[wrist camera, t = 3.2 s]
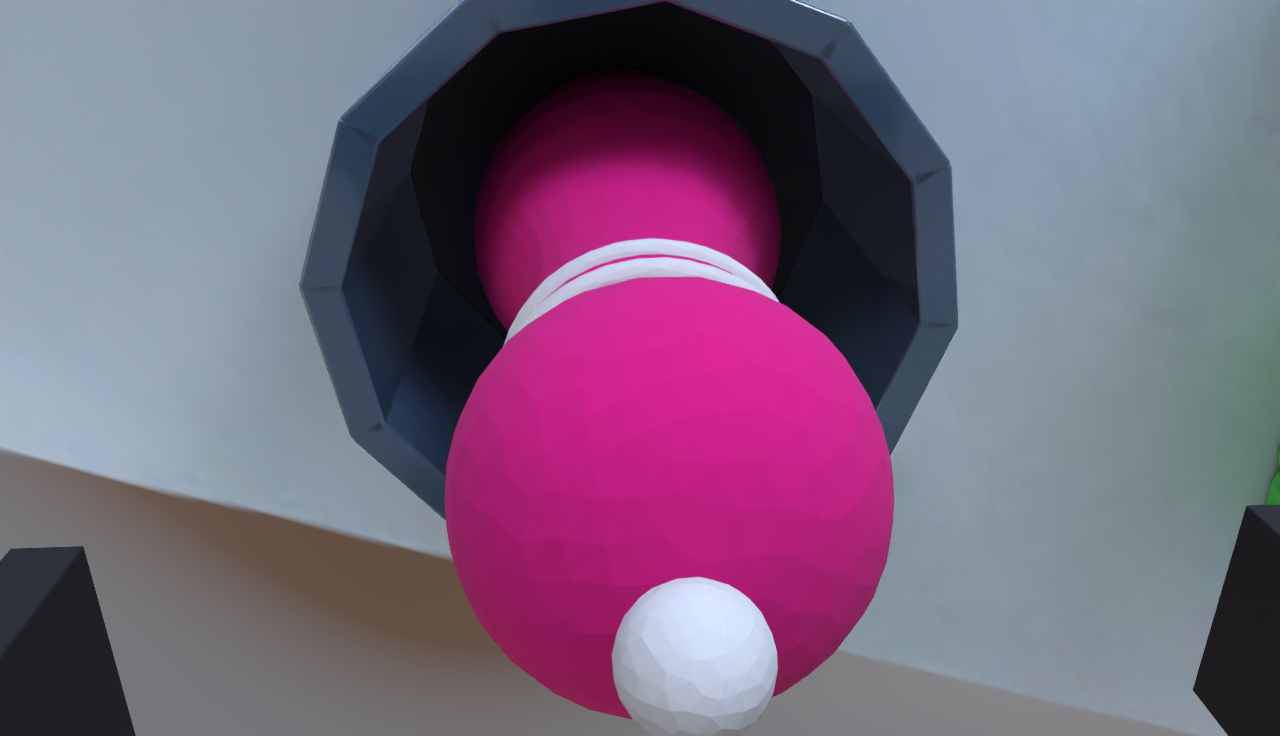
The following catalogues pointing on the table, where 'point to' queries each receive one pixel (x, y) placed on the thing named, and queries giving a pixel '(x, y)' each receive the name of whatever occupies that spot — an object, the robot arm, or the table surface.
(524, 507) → the pepper mill
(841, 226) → the crock
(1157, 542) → the table surface
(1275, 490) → the fruit basket
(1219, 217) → the table surface
